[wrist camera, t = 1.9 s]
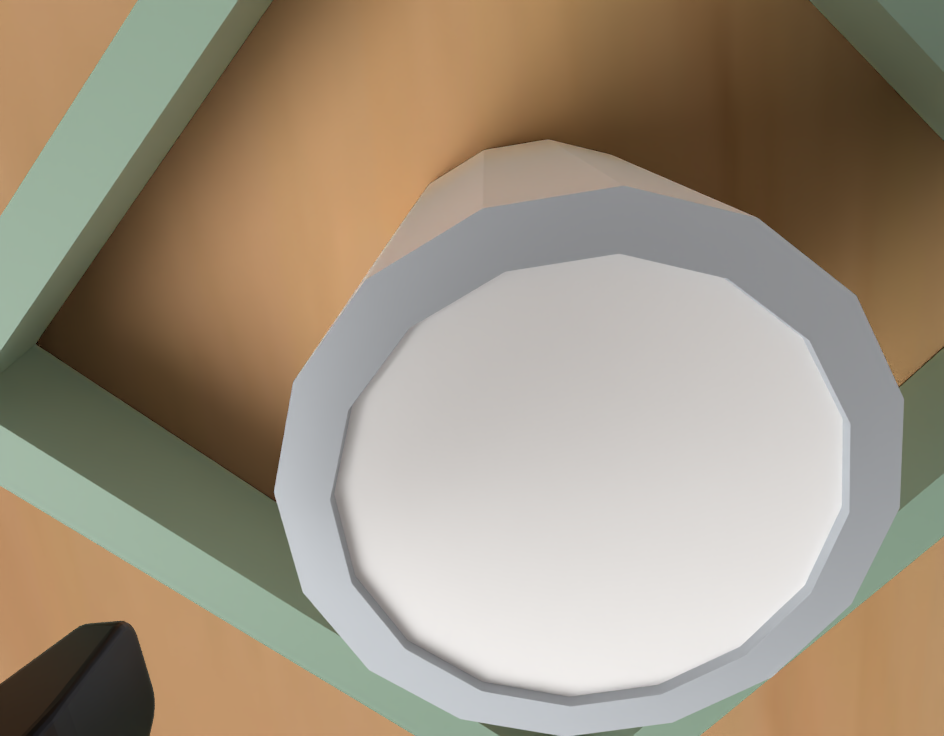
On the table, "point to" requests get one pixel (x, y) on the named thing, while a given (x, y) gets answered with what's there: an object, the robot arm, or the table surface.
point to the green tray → (210, 485)
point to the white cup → (587, 448)
